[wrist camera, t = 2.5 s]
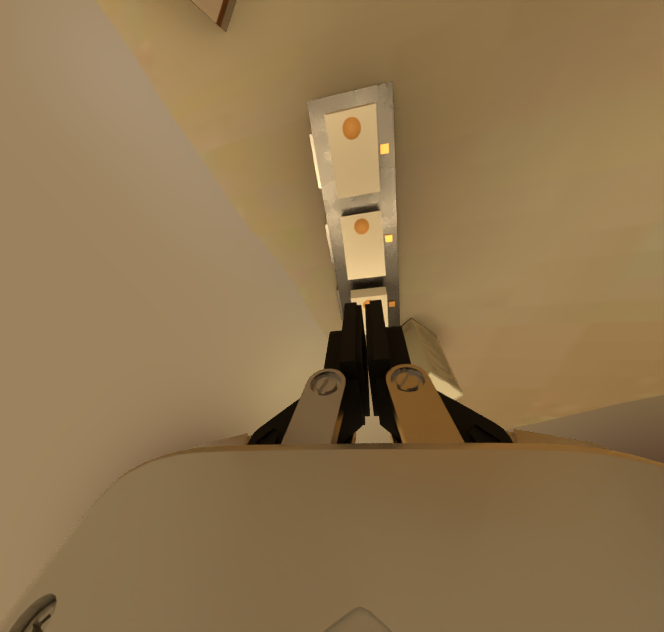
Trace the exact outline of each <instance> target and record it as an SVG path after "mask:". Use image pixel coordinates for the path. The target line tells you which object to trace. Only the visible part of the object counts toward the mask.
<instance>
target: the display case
mask: <svg viewBox="0 0 664 632" xmlns="http://www.w3.org/2000/svg"><path fill="white" fill-rule="evenodd" d="M191 1H192V2H193V3H194V4H195V5H196V6H197V7H198V8H199V9H201V10H202V11H203V12H204V13H205V14H206V15H207V16H208V17H209V18H211V19H212V20H213V21H214V22H215V23H216V24H217V25H218V26H219V27H221V28H222V29H223V30H224V31H225V32H226V31H227V28H228V25H229V22H230V18H231V15H232V12H233V9H234V6H235V3H236V0H191Z"/></svg>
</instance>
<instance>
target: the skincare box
mask: <svg viewBox="0 0 664 632" xmlns="http://www.w3.org/2000/svg"><path fill="white" fill-rule="evenodd" d="M402 329H403V333H404V337H405V341H406V345H407V349H408V353H409V357H410V361H411V365H415V366H418V367H420V368H422V369H423V370H424V371H426V373H427V374H428V375H429V377H430V379H431V381H432V383H433V385H434V386H435V388H436V390H437V391H439V392H441V393H443V394H444V395H446V396H448V397H450V398H451V399H453V400H456V399H457V398H459V397H461V396H462V395H463V393H462V390H461V388H460V386H459V384H458V382H457V380H456V378H455V376H454V374H453V371H452V369H451V367H450V365H449V363H448V361H447V359H446V357H445V354H444V352H443V350H442V348H441V346H440V344H439V342H438V340H437V337H436V336H434V335H433V334H432V333H431V332H429V331H428V330H427V329H425V328H424V327H423V326H421V325H420V324H419V323H417V322H416V321H414V320H413V319H410V320H409V321H408V322H406V323H405V324H404V325H403V326H402Z"/></svg>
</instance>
